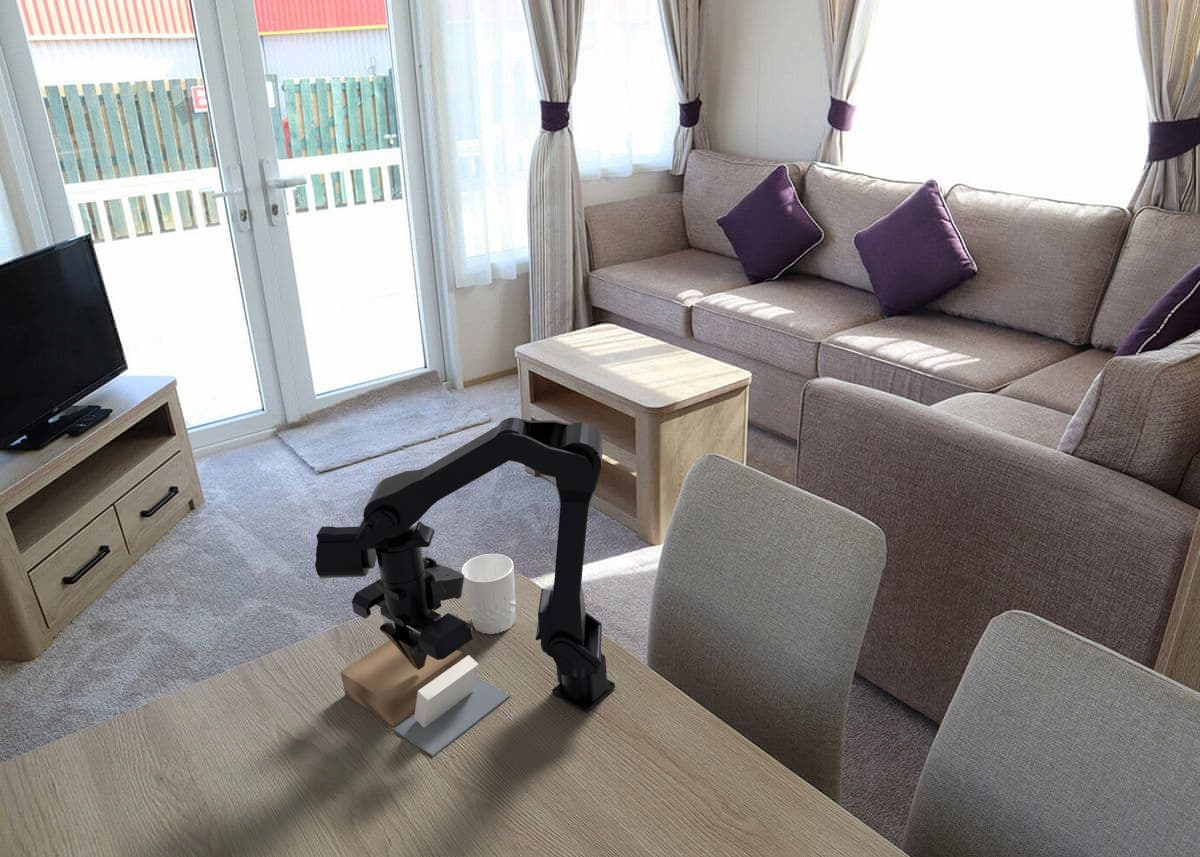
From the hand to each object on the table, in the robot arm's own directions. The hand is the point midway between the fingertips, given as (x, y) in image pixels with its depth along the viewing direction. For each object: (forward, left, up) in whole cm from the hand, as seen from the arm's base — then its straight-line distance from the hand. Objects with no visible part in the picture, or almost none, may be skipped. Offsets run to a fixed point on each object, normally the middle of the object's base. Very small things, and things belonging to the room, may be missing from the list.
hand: (419, 667), depth 127 cm
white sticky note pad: (-4, 0, -1) cm, 5 cm away
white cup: (+4, -18, -5) cm, 19 cm away
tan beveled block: (+4, 0, -5) cm, 6 cm away
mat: (-6, 0, -5) cm, 8 cm away
